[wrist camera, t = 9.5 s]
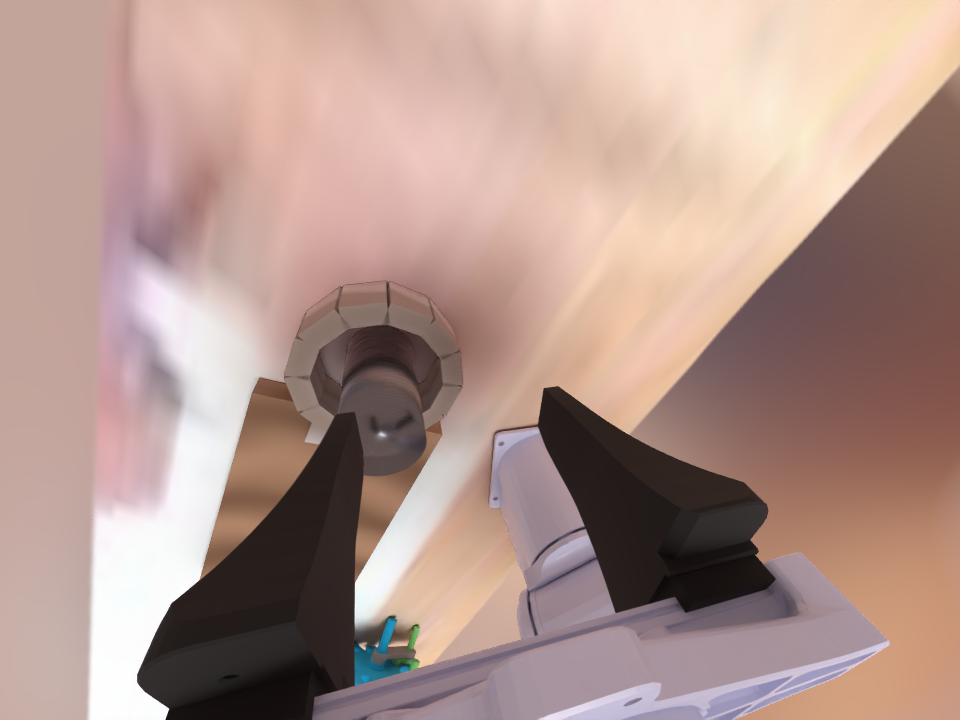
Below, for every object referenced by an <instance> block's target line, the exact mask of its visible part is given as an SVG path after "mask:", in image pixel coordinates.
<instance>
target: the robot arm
mask: <svg viewBox="0 0 960 720" xmlns="http://www.w3.org/2000/svg"><path fill="white" fill-rule="evenodd" d="M499 442H500V443H499ZM363 477H364V458H363V448H362V443H361V438H360V434H359V429H358V424H357V419H356V415H355V412H349V413H341V414H336V415H335V416H334V418H333V420H332V422H331V424H330V426H329V428H328V430H327V432H326V433H325V435H324V437H323V439H322V440H321V442H320V444H319V446H318V447H317V449H316V450H315V452H314V454H313V455H312V457H311V458H310V460H309V462H308V463H307V465H306V466H305V467H304V469H303V470H302V472H301V473H300V474H299V476H298V477H297V479H296V480H295V482H294V483H293V484H292V486H291V487H290V488H289V490H288V491H287V492H286V493H285V495H284V496H283V497H282V498H281V500H280V501H279V502H278V503H277V504H276V506H275V507H274V508H273V509H272V510H271V511H270V512H269V514H268V515H267V516H266V517H265V518H264V519H263V520H262V521H261V522H260V524H259V525H258V526H257V527H256V528H255V529H254V530H253V531H252V532H251V533H250V534H249V535H248V536H247V537H246V538H245V539H244V540H243V541H242V542H241V543H240V544H239V545H238V546H237V547H236V548H235V549H234V550H233V551H232V552H231V553H230V554H229V555H227V556H226V557H225V558H224V559H223V560H222V561H221V562H220V563H219V564H218V565H217V566H216V567H215V568H213V569H212V570H211V571H210V572H209V573H208V574H207V575H205V576H204V577H203V578H202V579H201V580H199V581H198V582H197V583H196V584H195V585H193V586H192V587H191V588H190V589H189V590H187V591H186V592H185V593H184V594H183V595H181V596H180V597H179V598H178V599H176V600H175V601H174V602H173V603H172V604H171V605H170V607H169V609H168V611H167V613H166V615H165V616H164V618H163V620H162V622H161V623H160V625H159V627H158V629H157V631H156V633H155V636H154V638H153V640H152V642H151V645H150V647H149V649H148V651H147V654H146V656H145V658H144V660H143V663H142V665H141V667H140V669H139V672H138V674H137V683H138V684H139V686H140V687H141V688H142V689H143V690H144V691H145V692H146V693H147V694H149V695H150V696H152V697H153V698H155V699H156V700H158V701H159V702H160V703H162V704H163V705H165V706H166V707H168V708H169V711H168V714H167V717H166V720H735V719H737V718H739V717H742V716H744V715H746V714H749V713H751V712H753V711H756V710H758V709H760V708H763V707H765V706H767V705H770V704H772V703H775V702H777V701H779V700H782V699H784V698H786V697H789V696H791V695H794V694H796V693H799V692H801V691H804V690H806V689H809V688H811V687H814V686H817V685H819V684H822V683H824V682H827V681H830V680H832V679H835V678H837V677H839V676H840V675H842V674H843V673H845V672H847V671H848V670H850V669H852V668H853V667H855V666H856V665H858V664H860V663H861V662H863V661H864V660H866V659H868V658H869V657H871V656H873V655H874V654H876V653H878V652H879V651H881V650H882V649H884V648H886V647H887V646H889V645H890V643H889V640H888V639H887V638H886V637H885V636H884V635H883V634H882V633H881V632H880V631H879V630H878V629H877V628H876V627H875V626H874V625H873V624H872V623H871V622H870V621H869V620H868V619H867V618H866V617H865V616H864V615H863V614H862V613H861V612H860V611H859V610H858V609H857V608H856V607H855V606H854V605H853V604H852V603H851V602H850V601H849V600H848V599H847V598H846V597H845V596H844V595H843V594H842V593H841V592H840V591H839V590H838V589H837V588H836V587H835V586H834V585H833V584H832V583H831V582H830V581H829V580H828V579H827V578H826V577H825V576H824V575H823V574H822V573H821V572H820V571H819V569H818V568H817V567H815V566H814V564H813V563H811V562H810V560H809V559H808V558H807V557H806V556H805V555H804V554H803V553H801V552H795V553H791V554H787V555H784V556H780V557H776V558H773V559H771V560H768V561H767V562H765V563H764V564H762V562H761V561H760V560H759V559H758V558H757V557H756V556H755V554H757V553H758V552H759V551H758V548H756V546H755V545H754V544H753V543H752V542H751V541H750V539H751V538H752V537H753V535H754V534H755V533H756V532H757V530H758V529H759V528H760V527H761V525H762V524H763V523H764V521H765V519H766V518H767V514H768V507H767V504H766V503H764V502H763V501H762V500H761V499H760V498H759V497H758V496H757V495H756V494H755V493H754V492H753V491H752V490H751V489H750V488H749V487H748V486H747V485H746V484H745V483H744V482H741V481H738V480H735V479H731V478H728V477H725V476H722V475H718V474H715V473H712V472H709V471H707V470H704V469H701V468H698V467H696V466H693V465H691V464H688V463H686V462H683V461H681V460H678V459H676V458H674V457H672V456H669V455H667V454H665V453H663V452H661V451H658V450H656V449H654V448H652V447H650V446H648V445H646V444H644V443H642V442H641V441H639V440H637V439H635V438H633V437H632V436H630V435H628V434H626V433H625V432H623V431H622V430H620V429H618V428H617V427H615V426H614V425H612V424H610V423H609V422H607V421H606V420H604V419H603V418H601V417H600V416H599V415H597V414H596V413H594V412H593V411H591V410H590V409H589V408H587V407H586V406H585V405H583V404H582V403H580V402H579V401H578V400H576V399H575V398H574V397H572V396H571V395H570V394H568V393H567V392H565V391H564V390H563V389H561V388H560V387H558V386H557V387H549V388H544V390H543V396H542V403H541V409H540V415H539V422H538V427H532V428H525V429H517V430H510V431H503V432H499V433H497V434H496V435H495V439H494V450H493V461H492V473H491V484H490V495H489V506H490V508H493V509H494V508H500V507H501V510H502V513H503V517H504V520H505V523H506V526H507V529H508V532H509V536H510V539H511V542H512V545H513V548H514V551H515V555H516V558H517V561H518V564H519V566H520V568H521V570H522V572H523V575H524V577H525V581H526V584H527V587H528V588H527V589H525V590H523V591H522V592H521V593H520V597H519V604H518V608H517V619H518V627H519V632H520V636H521V640H518V641H515V642H511V643H507V644H504V645H500V646H497V647H493V648H490V649H486V650H482V651H479V652H475V653H472V654H468V655H464V656H461V657H457V658H454V659H450V660H447V661H443V662H439V663H436V664H432V665H429V666H425V667H421V668H418V669H414V670H411V671H407V672H403V673H400V674H396V675H393V676H389V677H385V678H382V679H378V680H375V681H371V682H368V683H364V684H360V685H357V686H355V647H354V609H355V550H356V537H357V529H358V521H359V513H360V504H361V496H362V487H363Z"/></svg>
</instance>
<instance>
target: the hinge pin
mask: <svg viewBox="0 0 960 720" xmlns="http://www.w3.org/2000/svg"><path fill="white" fill-rule="evenodd" d="M349 412H355V415H356V419H357V424H358V429H359V434H360V438H361V443H362V448H363V458H364V475H366V476H386V475H391V474H395V473H398V472H400V471H403V470H405V469H407V468H409V467H410V466H412V465H413V464H414V463H415V462H416V461H417V460H418V459H419V458H420V457H421V456H422V454H423V452H424V450H425V448H426V444H427V438H426V431H425V425H424V419H423V413H422V407H421V400H420V394H419V388H418V382H417V376H416V369H415V363H414V357H413V351H412V346H411V343H410V341H409V340H408V338H407V337H406V336H405V335H404V334H403V333H402V332H400V331H399V330H397V329H395V328H392V327H389V326H382V325H376V326H370V327H367V328H364V329H362V330H360V331H359V332H357V333H356V334H355V335H354V336H353V337H352V338H351V340H350V342H349V344H348V347H347V352H346V360H345V367H344V374H343V382H342V389H341V396H340V403H339V411H338V414H341V413H349Z"/></svg>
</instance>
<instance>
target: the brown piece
mask: <svg viewBox="0 0 960 720" xmlns="http://www.w3.org/2000/svg"><path fill="white" fill-rule="evenodd" d="M384 324H387V325H390V326H393V327H396V328H399V329H402V330H405V331H408V332H411V333H414V334H416V335H419V336H421V337H422V338H423V339H424V341H425V342H426V343H427V344H428V345H429V346H430V347H431V349H432V350H433V351H434V352H435V353H436V357H437V359H436V361H435V362H434V364H433V366H432V368H431V370H430V372H429V374H428V376H427V378H426V380H425V381H423V382H422V383H420V384H419V385H418V388H419V394H420V400H421V407H422V413H423V419H424V425H425V431H426V438H427V444H426V448H425V450H424V452H423V454H422V456H421V457H420V458H419V459H418V460H417V461H416V462H415V463H414V464H413V465H412V466H410V467H409V468H407V469H405V470H403V471H400V472H398V473H395V474H391V475H386V476H366V475H364V477H363V487H362V496H361V504H360V513H359V521H358V529H357V537H356V550H355V581H356V580H357V578H358V576H359V575H360V573H361V571H362V570H363V568H364V566H365V565H366V563H367V561H368V560H369V558H370V556H371V554H372V553H373V551H374V549H375V548H376V546H377V544H378V543H379V541H380V539H381V538H382V536H383V534H384V533H385V531H386V529H387V527H388V526H389V524H390V522H391V521H392V519H393V517H394V516H395V514H396V512H397V511H398V509H399V507H400V505H401V504H402V502H403V500H404V499H405V497H406V495H407V494H408V492H409V490H410V489H411V487H412V485H413V484H414V482H415V480H416V478H417V477H418V475H419V473H420V472H421V470H422V468H423V467H424V465H425V463H426V462H427V460H428V458H429V457H430V455H431V453H432V451H433V450H434V448H435V446H436V445H437V443H438V441H439V440H440V438H441V436H442V430H441V425H440V421H439V420H441V419H442V418H444V415H447V413H448V411H449V410H450V408H451V406H452V405H453V403H454V401H455V399H456V398H457V396H458V394H459V392H460V391H461V389H462V385H463V375H462V360H461V351H460V348H459V345H458V343H457V340H456V337H455V334H454V331H453V329H452V326H451V324H450V323H449V322H448V321H447V319H446V318H445V317H444V316H443V314H442V313H441V312H440V311H439V309H438V308H437V307H436V305H435V304H434V303H433V302H432V300H431V299H428V298H427V296H425V295H423V294H420V293H418V292H415V291H413V290H410V289H408V288H405V287H402V286H400V285H397V284H395V283H392V282H389V284H388V287H387V284H386V281H380V282H371V283H361V284H352V285H343V289H342V288H341V287H339V288H337V289H336V290H335V291H333V292H332V293H331V294H329V295H328V296H326V297H325V298H324V299H322V300H321V301H320V302H318V303H317V304H315V305H314V306H313V307H311V308H310V309H309V310H308V311H307V313H306V314H305V316H304V318H303V321H302V323H301V326H300V328H299V331H298V333H297V336H296V338H295V341H294V344H293V347H292V350H291V354H290V357H289V360H288V363H287V366H286V369H285V372H284V375H285V377H284V380H285V382H286V384H284V383H280V382H275V381H271V380H267V379H263V378H259V380H258V382H257V384H256V386H255V388H254V390H253V392H252V395H251V399H250V402H249V406H248V410H247V413H246V417H245V420H244V424H243V427H242V431H241V434H240V438H239V442H238V445H237V449H236V452H235V456H234V459H233V463H232V467H231V470H230V474H229V477H228V481H227V484H226V488H225V491H224V495H223V499H222V502H221V506H220V509H219V513H218V516H217V520H216V524H215V527H214V531H213V534H212V538H211V541H210V545H209V548H208V552H207V556H206V559H205V563H204V566H203V570H202V573H201V577H200V580H201V579H202V578H203V577H204V576H205V575H207V574H208V573H209V572H210V571H211V570H212V569H213V568H215V567H216V566H217V565H218V564H219V563H220V562H221V561H222V560H223V559H224V558H225V557H226V556H227V555H229V554H230V553H231V552H232V551H233V550H234V549H235V548H236V547H237V546H238V545H239V544H240V543H241V542H242V541H243V540H244V539H245V538H246V537H247V536H248V535H249V534H250V533H251V532H252V531H253V530H254V529H255V528H256V527H257V526H258V525H259V524H260V522H261V521H262V520H263V519H264V518H265V517H266V516H267V515H268V514H269V512H270V511H271V510H272V509H273V508H274V507H275V506H276V504H277V503H278V502H279V501H280V500H281V498H282V497H283V496H284V495H285V493H286V492H287V491H288V490H289V488H290V487H291V486H292V484H293V483H294V482H295V480H296V479H297V477H298V476H299V474H300V473H301V472H302V470H303V469H304V467H305V466H306V465H307V463H308V462H309V460H310V458H311V457H312V455H313V454H314V452H315V450H316V449H317V447H318V446H319V444H320V442H321V440H322V439H323V437H324V435H325V433H326V432H327V430H328V428H329V426H330V424H331V422H332V420H333V418H334V416H335V415H336V414H338V411H339V403H340V396H341V389H342V387H340V386H339V385H338V384H337V383H335V382H334V381H333V380H332V379H331V378H329V377H328V376H327V375H326V373H325V370H324V367H323V364H322V361H321V358H320V355H319V350H320V349H321V348H322V347H324V346H325V345H327V344H328V343H329V342H331V341H332V340H334V339H335V338H336V337H338V336H339V335H341V334H342V333H343V332H345V331H346V330H348V329H352V328H360V327H368V326H376V325H384Z"/></svg>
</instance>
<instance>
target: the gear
mask: <svg viewBox="0 0 960 720" xmlns="http://www.w3.org/2000/svg"><path fill="white" fill-rule="evenodd" d="M396 622H397V620H396V619H394V618H390V617H389V618H388V621H387V623H386V626H385V629H384V632H383V634H382V637H381V640H380V643H379V646H378V647H375V646H371V645H367V647H366V650H363V649H362V648H361V647H360V646H359V645H358V644H356V643H354V647H355V686H357V685H360V684H364V683H368V682H371V681H375V680H378V679H382V678H385V677H389V676H393V675H396V674H400V673H403V672H407V671H411V670H414V669H418V665H419V662H420V661H419V660H418V659H415V658H414V657H415V654H416V651H415V650H414V649H413V648H414V644H415V641H416V638H417V635H418V632H419V629H420V627H419V626H414V628H413V631H412V634H411V637H410V640H409V643H408V646H398V647H388V645H389V642H390V639H391V636H392V633H393V630H394V627H395V625H396ZM409 664H410V665H409Z"/></svg>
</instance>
